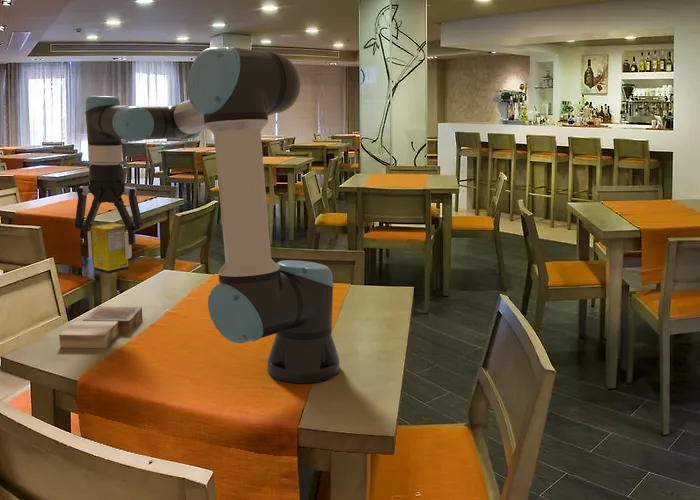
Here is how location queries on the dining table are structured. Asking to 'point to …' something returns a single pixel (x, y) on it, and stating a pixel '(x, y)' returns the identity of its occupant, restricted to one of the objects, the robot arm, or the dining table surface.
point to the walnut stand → (118, 316)
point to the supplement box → (109, 248)
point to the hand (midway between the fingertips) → (110, 257)
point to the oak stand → (89, 334)
